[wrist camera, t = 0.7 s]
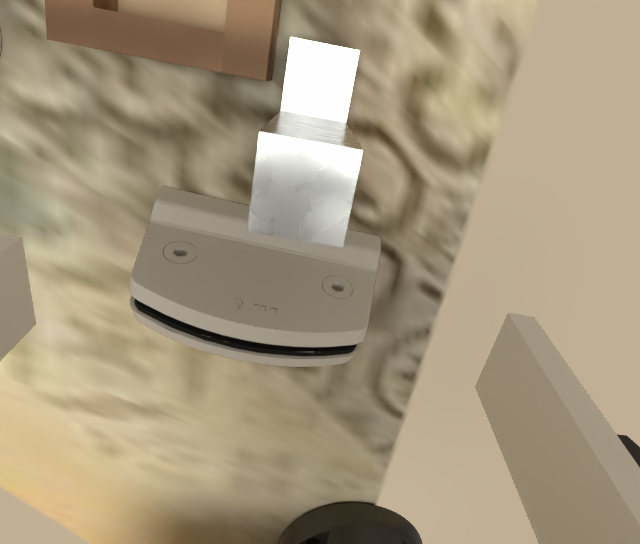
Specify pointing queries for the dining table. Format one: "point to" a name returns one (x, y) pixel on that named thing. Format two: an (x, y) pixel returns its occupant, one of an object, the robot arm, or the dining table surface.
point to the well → (175, 31)
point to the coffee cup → (0, 42)
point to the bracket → (308, 149)
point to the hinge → (251, 285)
